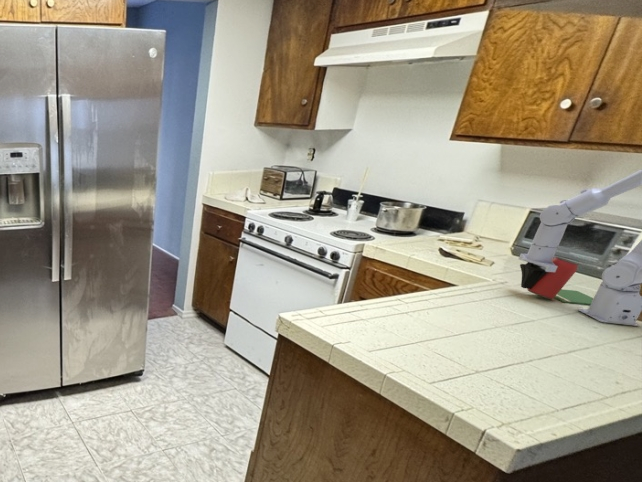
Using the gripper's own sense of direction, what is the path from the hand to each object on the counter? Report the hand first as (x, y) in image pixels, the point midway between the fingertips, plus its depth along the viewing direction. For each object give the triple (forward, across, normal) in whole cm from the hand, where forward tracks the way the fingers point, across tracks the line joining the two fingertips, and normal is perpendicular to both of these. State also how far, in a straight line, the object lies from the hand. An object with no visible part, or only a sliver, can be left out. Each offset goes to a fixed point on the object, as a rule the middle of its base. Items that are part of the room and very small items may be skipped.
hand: (526, 287), depth 146 cm
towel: (+3, -4, +14) cm, 15 cm away
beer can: (+2, 0, +4) cm, 4 cm away
